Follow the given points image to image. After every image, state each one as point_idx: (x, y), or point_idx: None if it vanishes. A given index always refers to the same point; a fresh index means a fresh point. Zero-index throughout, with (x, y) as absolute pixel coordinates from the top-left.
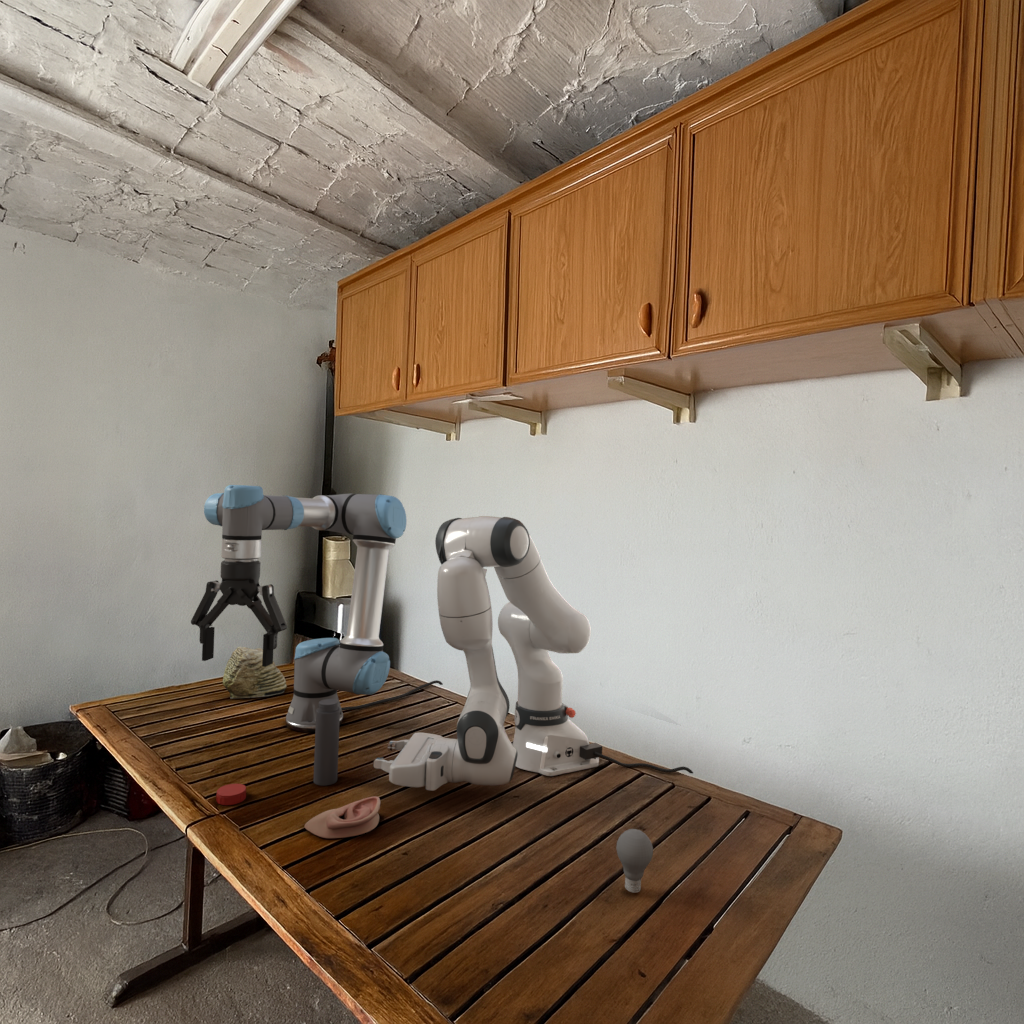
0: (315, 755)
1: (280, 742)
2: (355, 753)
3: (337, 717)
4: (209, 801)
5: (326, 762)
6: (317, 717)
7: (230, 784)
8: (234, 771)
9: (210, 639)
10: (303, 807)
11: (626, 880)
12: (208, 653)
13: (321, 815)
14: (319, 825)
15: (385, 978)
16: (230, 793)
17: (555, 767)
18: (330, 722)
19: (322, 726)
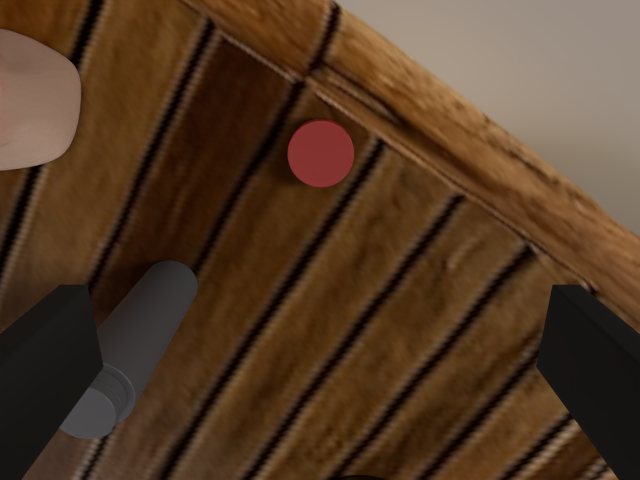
0: (165, 296)
1: (376, 422)
2: (186, 413)
3: None
4: (362, 127)
5: (136, 286)
6: (120, 354)
7: (339, 178)
8: (394, 273)
9: (638, 441)
10: (140, 157)
11: None
12: (570, 342)
13: (41, 94)
14: (25, 58)
15: None
16: (310, 135)
17: None
18: None
19: (108, 335)
